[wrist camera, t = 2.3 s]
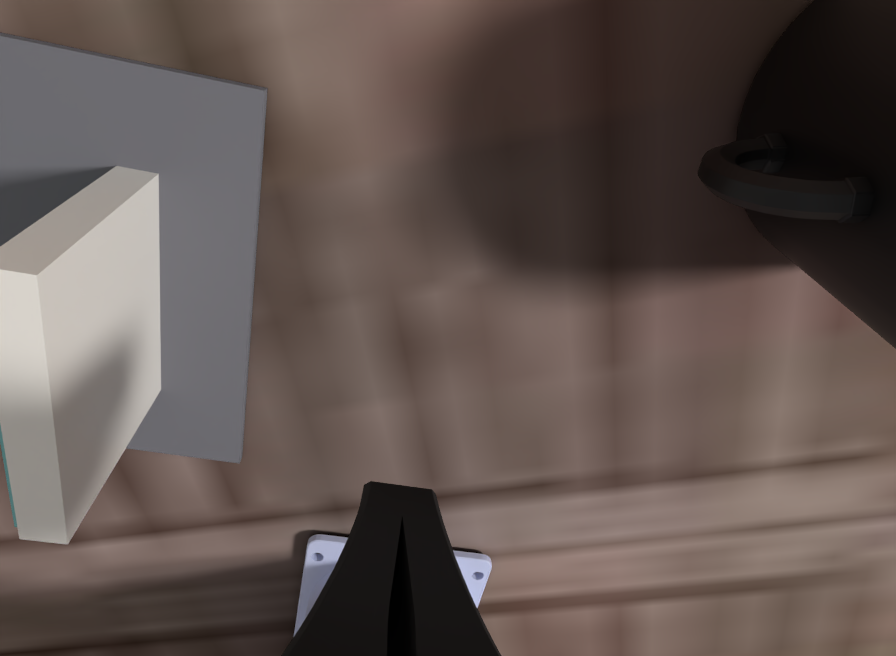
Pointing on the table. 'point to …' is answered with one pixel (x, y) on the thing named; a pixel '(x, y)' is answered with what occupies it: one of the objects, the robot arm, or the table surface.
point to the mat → (180, 209)
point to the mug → (824, 154)
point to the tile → (78, 347)
